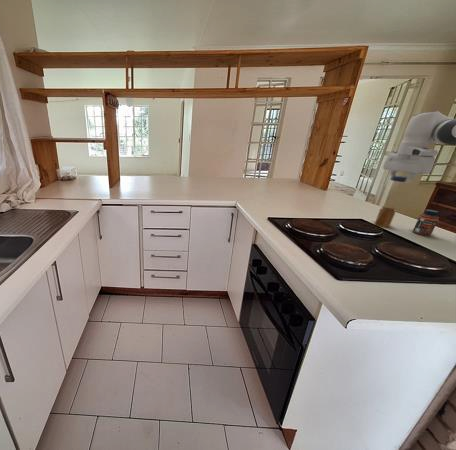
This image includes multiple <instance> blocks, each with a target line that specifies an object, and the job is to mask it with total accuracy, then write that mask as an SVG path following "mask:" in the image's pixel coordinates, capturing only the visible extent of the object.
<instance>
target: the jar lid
mask: <svg viewBox="0 0 456 450" xmlns="http://www.w3.org/2000/svg"><path fill="white" fill-rule="evenodd" d="M408 177H409V176H402V175H401V176H400V175H396V176H393V177H392V179H391V180H390V181H392V182H400V183H404V180H405V179H407V178H408Z"/></svg>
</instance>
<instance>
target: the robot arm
mask: <svg viewBox="0 0 456 450" xmlns="http://www.w3.org/2000/svg"><path fill="white" fill-rule="evenodd" d="M408 121H409V122H408V124H407V125H406V128H405V131H404V132H403V139H402V140H401V142H400V144H399V147H398V150H397V149H396V150H395V149H394V150H393V151H391V152H389V154H388V156H387V157H386V159H385V161H384V163H383V165H382V168H383V170H387V171H390V172H389V175H390V178H389V180H390V181H392V180H391V179H392V177H393V176H397V173H398V172H402V173H408V176H407V177H408V178H407V179H405V180H404V182H403V183H404V184H411V182H412V180H414V179H415V178H416V177H417V175H429V174H430V173H431V172H432V170H433V168H434V165H435V162H436V157H437V156H438V154H439V151H438V150H436V149H434V148H431V147H429V145H430V143H434V144H437V145H449V146H456V118H453V117H449V116H447V115H445V114H443V113H441V112H440V111H439V110H429V111H424V112H419V113H416V114H414V115H413V116H412V117H411V118H410V119H409V120H408Z"/></svg>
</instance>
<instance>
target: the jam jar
mask: <svg viewBox="0 0 456 450" xmlns="http://www.w3.org/2000/svg"><path fill="white" fill-rule="evenodd" d="M396 212H397V211H396V207H395V206H391V205H390V206H388V205H382V206H381V208H379V210H378V213H377V216H376V218H375V221H374V225H375V226H377V227H381V228H390V227H391V225H392V222H393V220H394V218H395V215H396Z"/></svg>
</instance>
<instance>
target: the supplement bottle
mask: <svg viewBox="0 0 456 450" xmlns="http://www.w3.org/2000/svg"><path fill="white" fill-rule="evenodd" d="M438 215H439V211H438V210H434V209H425V211H424V212H422V213H421V214H420V215H419V216H418V219H417V220H416V223H415V224H414V226H413V230H412V233H414V234H416V235H420V236H424V237H425V236H426V237H429V236H431V235H432V234H433V232H434V230H435V228H436V226H437V224H438V222H439V219H440V217H439V216H438Z"/></svg>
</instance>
